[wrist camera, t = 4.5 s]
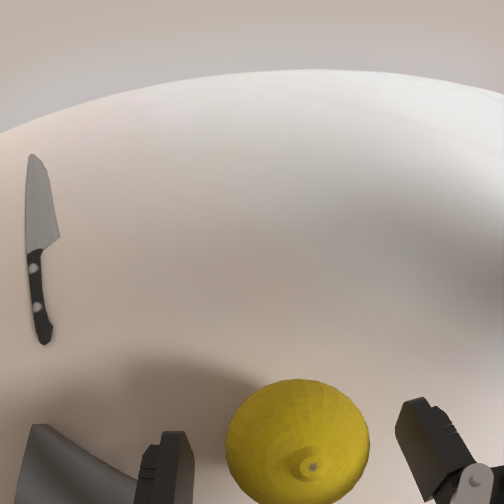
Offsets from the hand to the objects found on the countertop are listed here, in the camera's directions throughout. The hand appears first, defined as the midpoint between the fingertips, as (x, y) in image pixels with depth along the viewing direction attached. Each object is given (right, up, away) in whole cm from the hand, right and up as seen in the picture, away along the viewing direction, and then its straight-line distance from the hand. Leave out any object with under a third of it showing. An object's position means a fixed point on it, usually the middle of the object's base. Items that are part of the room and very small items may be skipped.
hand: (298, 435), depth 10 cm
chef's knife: (-17, +9, +11) cm, 22 cm away
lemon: (0, -3, +5) cm, 6 cm away
